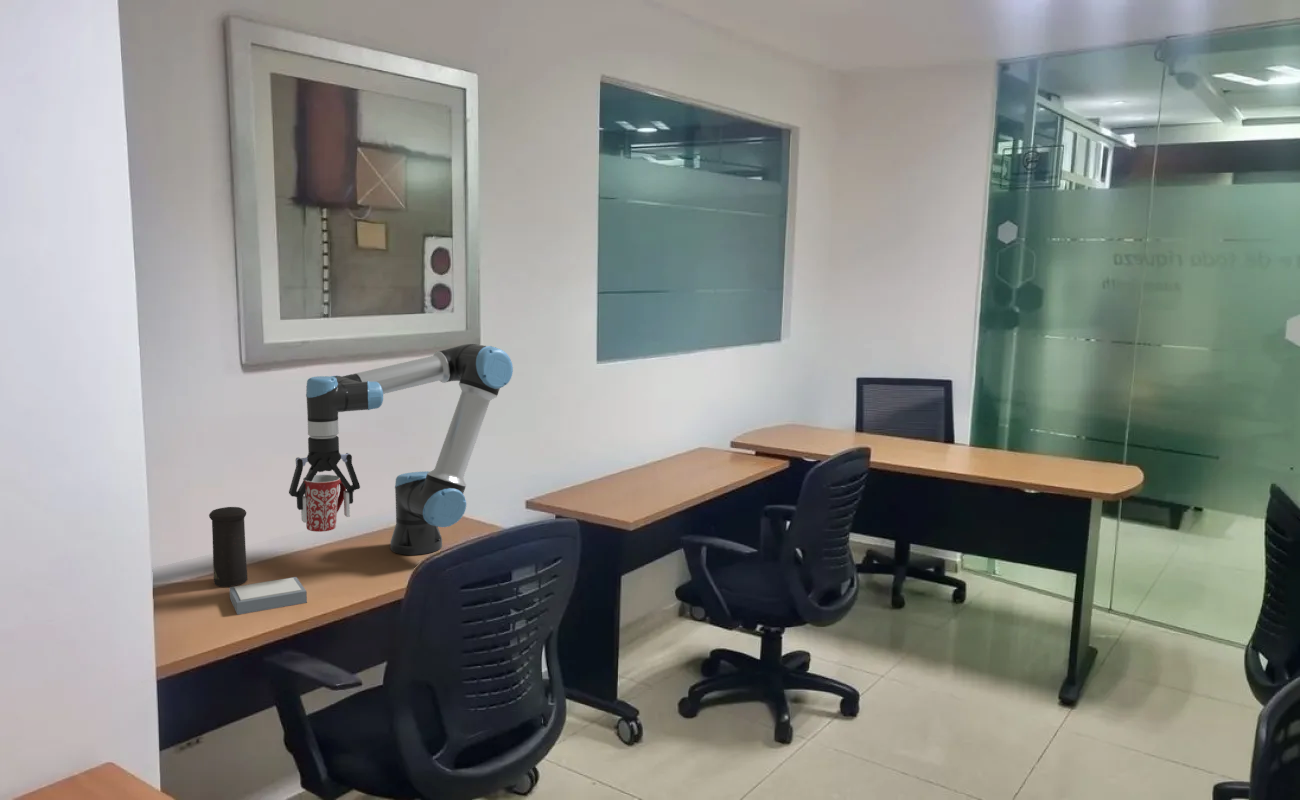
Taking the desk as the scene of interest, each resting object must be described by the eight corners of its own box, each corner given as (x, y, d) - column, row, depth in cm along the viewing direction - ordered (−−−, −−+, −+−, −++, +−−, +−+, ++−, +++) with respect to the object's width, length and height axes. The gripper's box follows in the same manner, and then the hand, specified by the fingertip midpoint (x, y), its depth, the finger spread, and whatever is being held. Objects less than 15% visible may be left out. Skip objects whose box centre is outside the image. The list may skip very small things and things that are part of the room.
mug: (320, 534, 227) (320, 483, 226) (295, 528, 231) (295, 478, 230) (356, 524, 238) (357, 475, 237) (332, 519, 242) (333, 470, 241)
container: (235, 573, 242) (232, 502, 239) (256, 580, 237) (253, 508, 234) (205, 583, 234) (201, 509, 231) (226, 590, 230) (222, 515, 227)
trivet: (296, 587, 233) (296, 575, 232) (306, 602, 223) (306, 590, 222) (230, 598, 224) (229, 586, 223) (237, 614, 214) (236, 601, 213)
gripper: (363, 430, 240) (365, 509, 243) (273, 437, 228) (277, 520, 231) (371, 434, 234) (373, 516, 237) (279, 442, 222) (282, 528, 225)
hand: (325, 518), depth 234 cm, fingers closed on mug, 10 cm apart
